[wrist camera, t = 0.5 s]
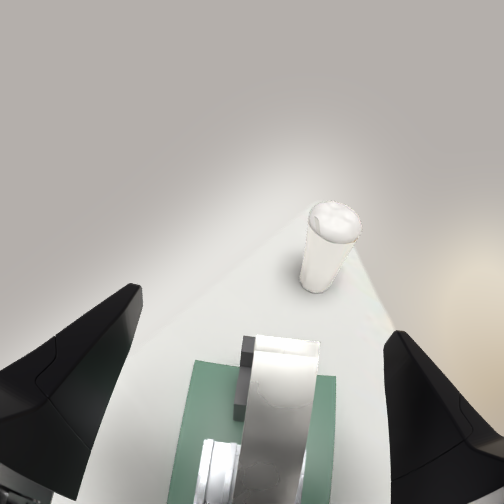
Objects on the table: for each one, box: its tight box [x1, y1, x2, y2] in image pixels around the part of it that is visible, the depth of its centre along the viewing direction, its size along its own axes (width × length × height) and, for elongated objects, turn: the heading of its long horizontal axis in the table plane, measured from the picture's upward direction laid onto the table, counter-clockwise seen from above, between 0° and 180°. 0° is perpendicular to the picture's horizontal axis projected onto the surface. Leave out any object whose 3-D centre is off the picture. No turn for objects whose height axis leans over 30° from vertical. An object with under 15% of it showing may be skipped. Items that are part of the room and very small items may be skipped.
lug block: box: [233, 336, 256, 422], centre depth 18 cm, size 4×4×7 cm
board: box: [167, 360, 336, 504], centre depth 16 cm, size 20×12×1 cm, turn 173°
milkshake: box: [299, 201, 362, 293], centre depth 26 cm, size 5×5×10 cm
